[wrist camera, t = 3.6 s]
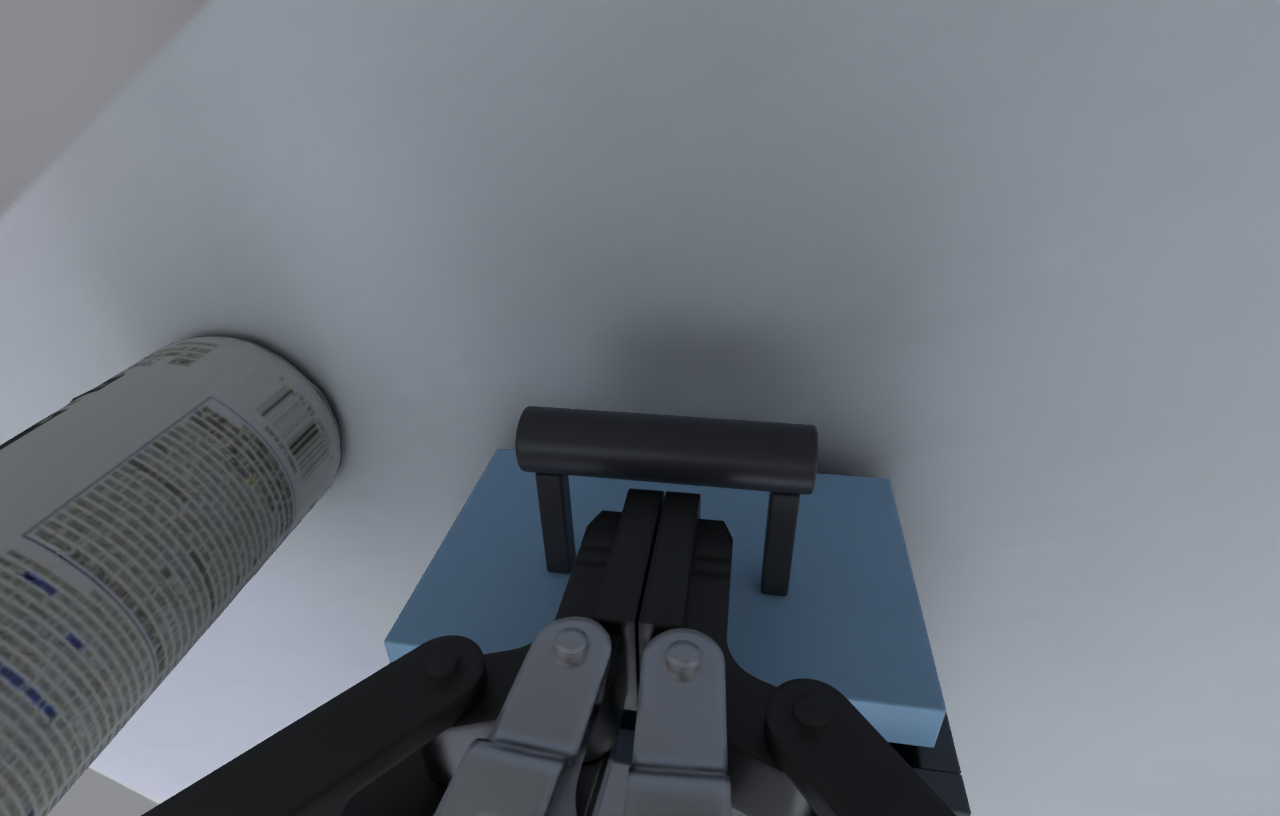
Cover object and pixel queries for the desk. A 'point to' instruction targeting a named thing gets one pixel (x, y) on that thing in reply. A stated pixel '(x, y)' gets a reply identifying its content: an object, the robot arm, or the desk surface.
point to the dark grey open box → (927, 762)
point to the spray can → (140, 540)
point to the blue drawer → (761, 556)
